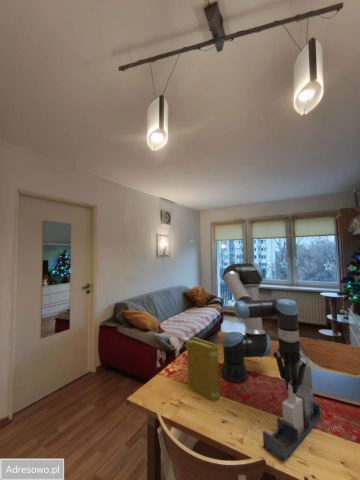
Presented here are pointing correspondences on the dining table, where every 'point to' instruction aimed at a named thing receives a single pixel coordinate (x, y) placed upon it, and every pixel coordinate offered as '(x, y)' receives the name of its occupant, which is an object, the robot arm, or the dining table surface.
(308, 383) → the network device
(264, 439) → the rack
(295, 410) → the block
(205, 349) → the book
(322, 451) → the dining table surface
